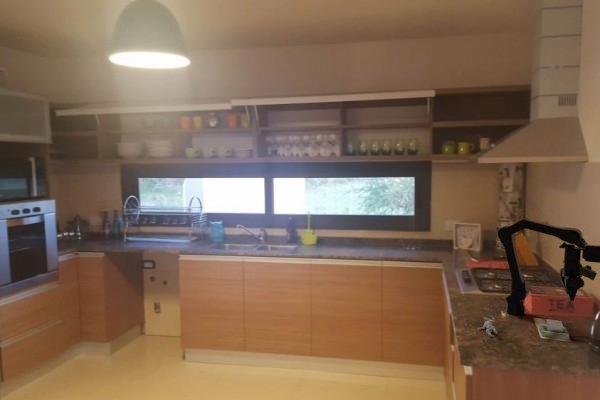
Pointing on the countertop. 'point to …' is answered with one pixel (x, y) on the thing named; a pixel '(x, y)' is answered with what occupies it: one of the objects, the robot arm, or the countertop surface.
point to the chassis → (550, 335)
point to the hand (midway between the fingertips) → (570, 297)
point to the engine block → (554, 326)
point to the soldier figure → (489, 326)
